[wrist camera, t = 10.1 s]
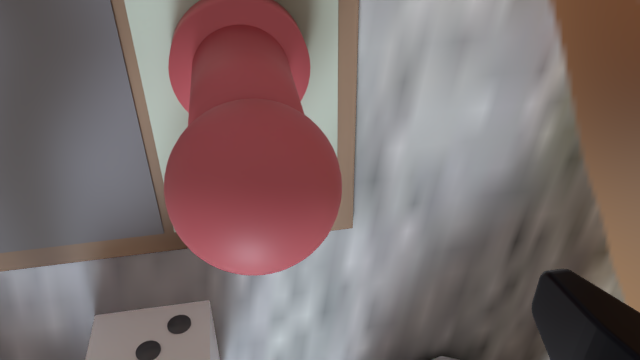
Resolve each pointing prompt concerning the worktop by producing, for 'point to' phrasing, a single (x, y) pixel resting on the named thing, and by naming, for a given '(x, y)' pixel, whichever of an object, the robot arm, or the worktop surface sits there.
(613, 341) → the robot arm
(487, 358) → the worktop surface
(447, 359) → the soap bottle
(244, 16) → the pawn
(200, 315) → the die
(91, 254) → the game board
